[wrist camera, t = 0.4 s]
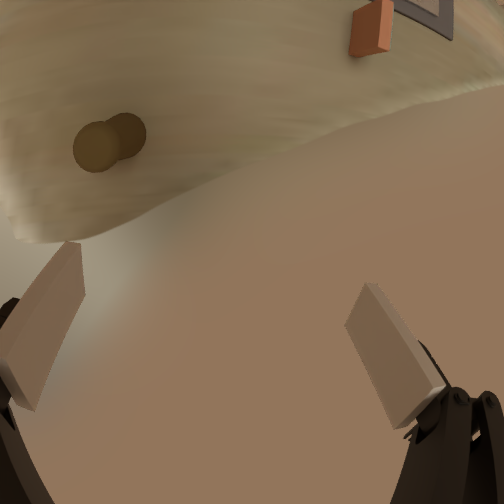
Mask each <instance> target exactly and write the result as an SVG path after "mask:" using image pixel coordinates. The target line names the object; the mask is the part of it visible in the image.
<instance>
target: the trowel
mask: <svg viewBox="0 0 504 504" xmlns="http://www.w3.org/2000/svg"><path fill="white" fill-rule="evenodd" d="M404 1H406V2H408V3H410V4H412V5H414V6H416V7H418V8H420V9H422V10H424V11H425V12H427V13H429V14H431V15H432V16H434V17H439V0H404Z"/></svg>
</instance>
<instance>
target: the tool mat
mask: <svg viewBox="0 0 504 504" xmlns="http://www.w3.org/2000/svg"><path fill="white" fill-rule="evenodd" d="M370 1H375V0H370ZM390 1H392V2H394V11H396V12H398V13H400V14H403V15H405V16H407V17H409V18H411V19H413V20H415V21H417V22H419V23H421V24H422V25H424V26H426V27H428V28H430V29H432V30H433V31H435V32H437V33H439V34H440V35H442V36H444V37H445V38H447V39H449V40H450V41H452V40H453V18H454V9H453V0H439V17H434V16H432V15H431V14H429V13H427V12H425V11H424V10H422V9H420V8H418V7H416V6H414V5H412V4H410V3H408V2H406V1H404V0H390Z"/></svg>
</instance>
